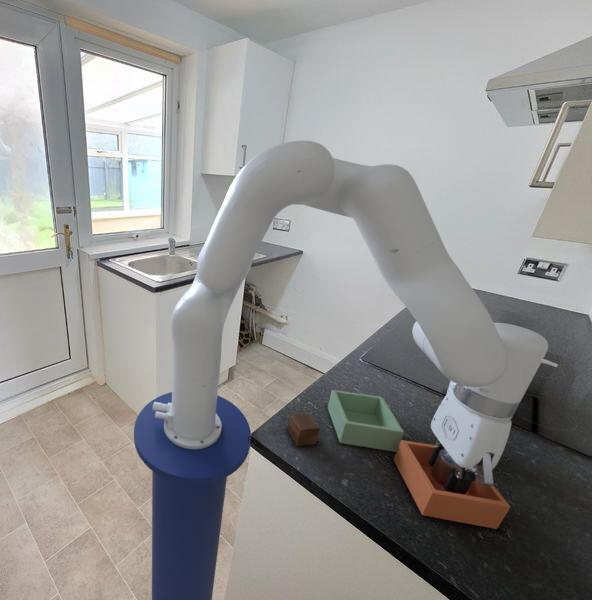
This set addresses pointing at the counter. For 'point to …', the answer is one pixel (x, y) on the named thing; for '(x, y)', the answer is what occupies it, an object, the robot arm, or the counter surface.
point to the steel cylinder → (444, 467)
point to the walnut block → (303, 429)
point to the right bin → (436, 500)
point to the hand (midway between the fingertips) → (445, 477)
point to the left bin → (364, 421)
